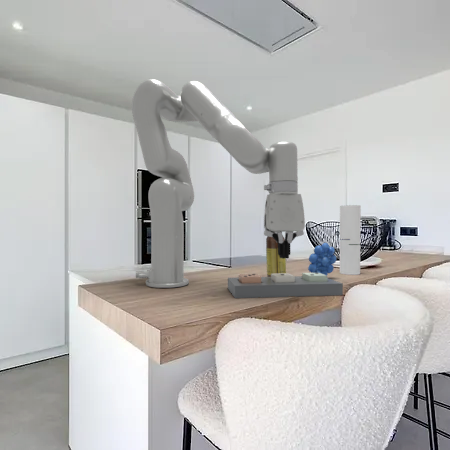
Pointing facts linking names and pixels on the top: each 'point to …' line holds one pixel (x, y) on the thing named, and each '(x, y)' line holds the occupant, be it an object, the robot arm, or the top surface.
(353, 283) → the top surface
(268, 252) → the sauce bottle
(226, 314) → the top surface
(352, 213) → the cylindrical container
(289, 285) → the button board
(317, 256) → the grapes
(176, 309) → the top surface
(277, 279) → the tile one
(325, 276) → the tile two
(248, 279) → the tile three
